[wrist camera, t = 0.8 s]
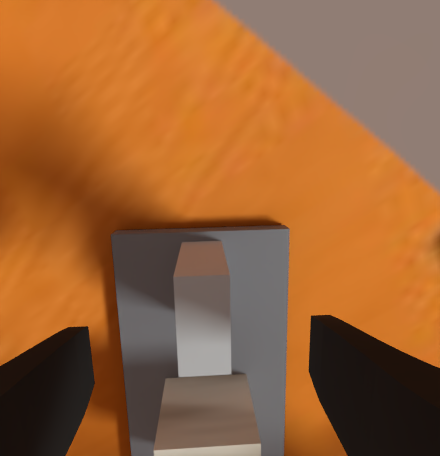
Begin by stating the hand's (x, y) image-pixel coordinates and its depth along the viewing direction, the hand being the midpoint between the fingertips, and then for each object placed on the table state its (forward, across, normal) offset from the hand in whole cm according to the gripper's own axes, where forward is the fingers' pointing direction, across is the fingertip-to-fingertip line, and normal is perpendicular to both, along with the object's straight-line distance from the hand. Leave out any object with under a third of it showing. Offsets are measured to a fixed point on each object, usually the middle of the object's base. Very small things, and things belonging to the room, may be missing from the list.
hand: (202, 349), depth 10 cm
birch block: (+6, 0, +8) cm, 10 cm away
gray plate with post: (+8, 0, +7) cm, 10 cm away
